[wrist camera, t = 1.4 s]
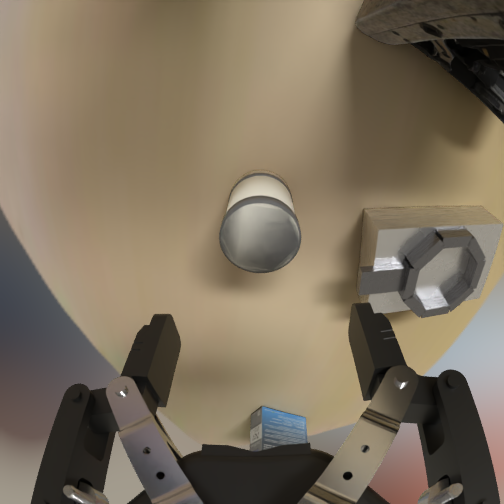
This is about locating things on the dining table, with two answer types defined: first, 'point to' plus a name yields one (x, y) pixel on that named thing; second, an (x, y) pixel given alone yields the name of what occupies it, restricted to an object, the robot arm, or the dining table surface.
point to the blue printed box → (276, 429)
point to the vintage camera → (447, 38)
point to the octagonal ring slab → (425, 257)
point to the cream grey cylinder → (260, 223)
